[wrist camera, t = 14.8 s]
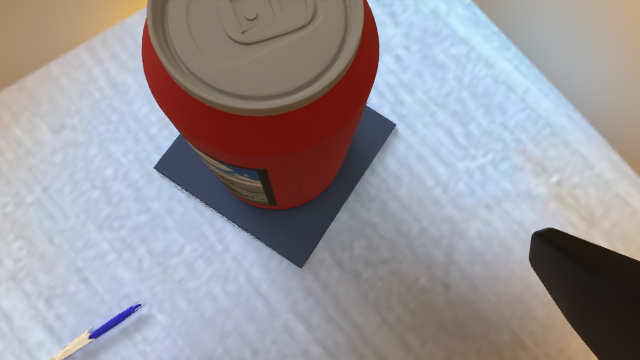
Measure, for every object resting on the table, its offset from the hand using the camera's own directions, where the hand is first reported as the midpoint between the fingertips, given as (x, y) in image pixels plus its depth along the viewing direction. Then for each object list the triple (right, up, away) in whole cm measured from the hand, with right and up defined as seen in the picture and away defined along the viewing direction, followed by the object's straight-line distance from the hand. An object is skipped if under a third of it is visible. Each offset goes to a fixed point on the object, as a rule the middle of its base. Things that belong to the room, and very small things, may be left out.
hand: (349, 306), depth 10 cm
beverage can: (-3, +4, +13) cm, 14 cm away
